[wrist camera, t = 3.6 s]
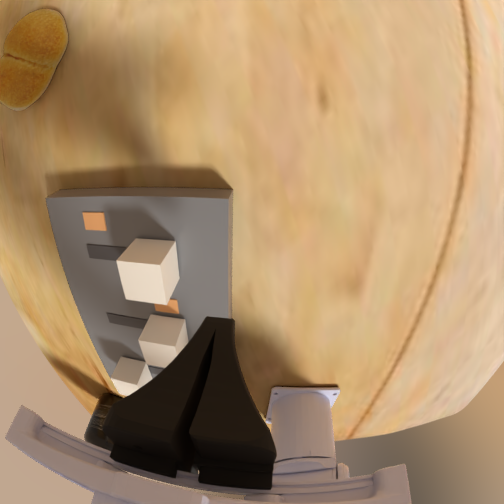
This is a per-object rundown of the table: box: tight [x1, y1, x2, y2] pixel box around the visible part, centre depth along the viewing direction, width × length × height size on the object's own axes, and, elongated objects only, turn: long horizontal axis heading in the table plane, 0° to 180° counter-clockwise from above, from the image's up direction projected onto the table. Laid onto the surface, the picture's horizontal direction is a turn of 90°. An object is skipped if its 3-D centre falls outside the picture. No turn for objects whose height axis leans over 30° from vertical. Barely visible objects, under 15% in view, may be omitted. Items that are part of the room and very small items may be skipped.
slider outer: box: [116, 238, 180, 305], centre depth 18 cm, size 3×3×3 cm
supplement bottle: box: [84, 394, 122, 451], centre depth 31 cm, size 7×7×12 cm
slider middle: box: [138, 315, 188, 368], centre depth 21 cm, size 3×3×3 cm
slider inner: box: [111, 357, 152, 396], centre depth 25 cm, size 3×3×3 cm
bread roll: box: [0, 9, 68, 111], centre depth 11 cm, size 8×9×4 cm
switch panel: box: [46, 187, 233, 379], centre depth 23 cm, size 23×15×2 cm, turn 177°
